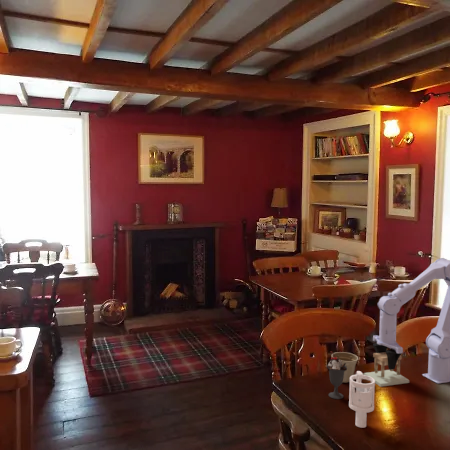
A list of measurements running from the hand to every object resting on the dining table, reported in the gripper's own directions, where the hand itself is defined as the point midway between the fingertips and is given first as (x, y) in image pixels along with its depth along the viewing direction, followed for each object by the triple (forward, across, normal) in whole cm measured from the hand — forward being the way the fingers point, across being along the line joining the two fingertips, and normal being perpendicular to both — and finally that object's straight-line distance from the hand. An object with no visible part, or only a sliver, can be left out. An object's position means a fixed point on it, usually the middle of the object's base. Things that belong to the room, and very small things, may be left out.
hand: (386, 366), depth 167 cm
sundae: (+5, +7, -25) cm, 26 cm away
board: (+5, 0, 0) cm, 5 cm away
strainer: (+5, +26, -28) cm, 39 cm away
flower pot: (+5, -4, -15) cm, 16 cm away
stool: (+3, 0, 0) cm, 3 cm away
